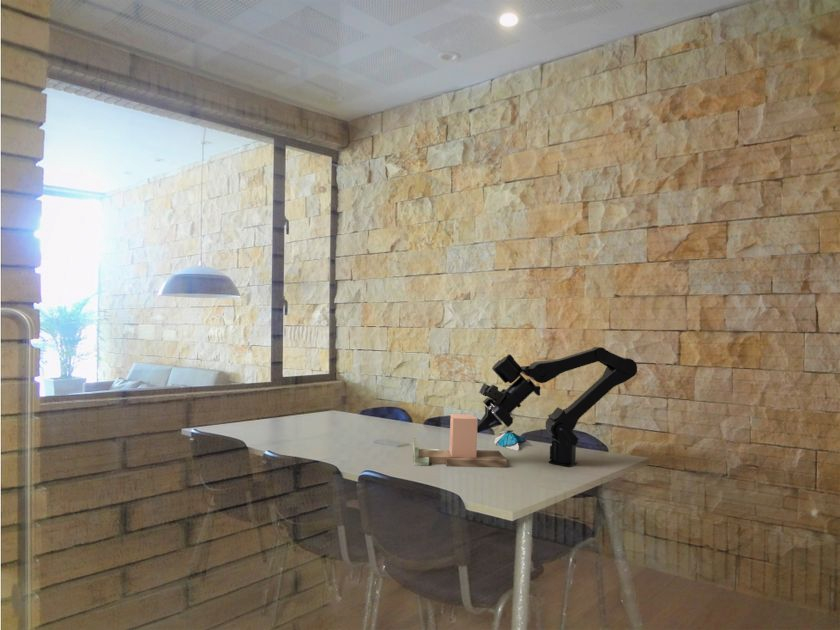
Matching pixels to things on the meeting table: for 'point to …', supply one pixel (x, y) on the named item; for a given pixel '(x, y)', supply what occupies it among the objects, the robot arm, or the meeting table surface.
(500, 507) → the meeting table surface
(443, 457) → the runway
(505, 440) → the decorative butterfly
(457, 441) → the block
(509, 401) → the robot arm
